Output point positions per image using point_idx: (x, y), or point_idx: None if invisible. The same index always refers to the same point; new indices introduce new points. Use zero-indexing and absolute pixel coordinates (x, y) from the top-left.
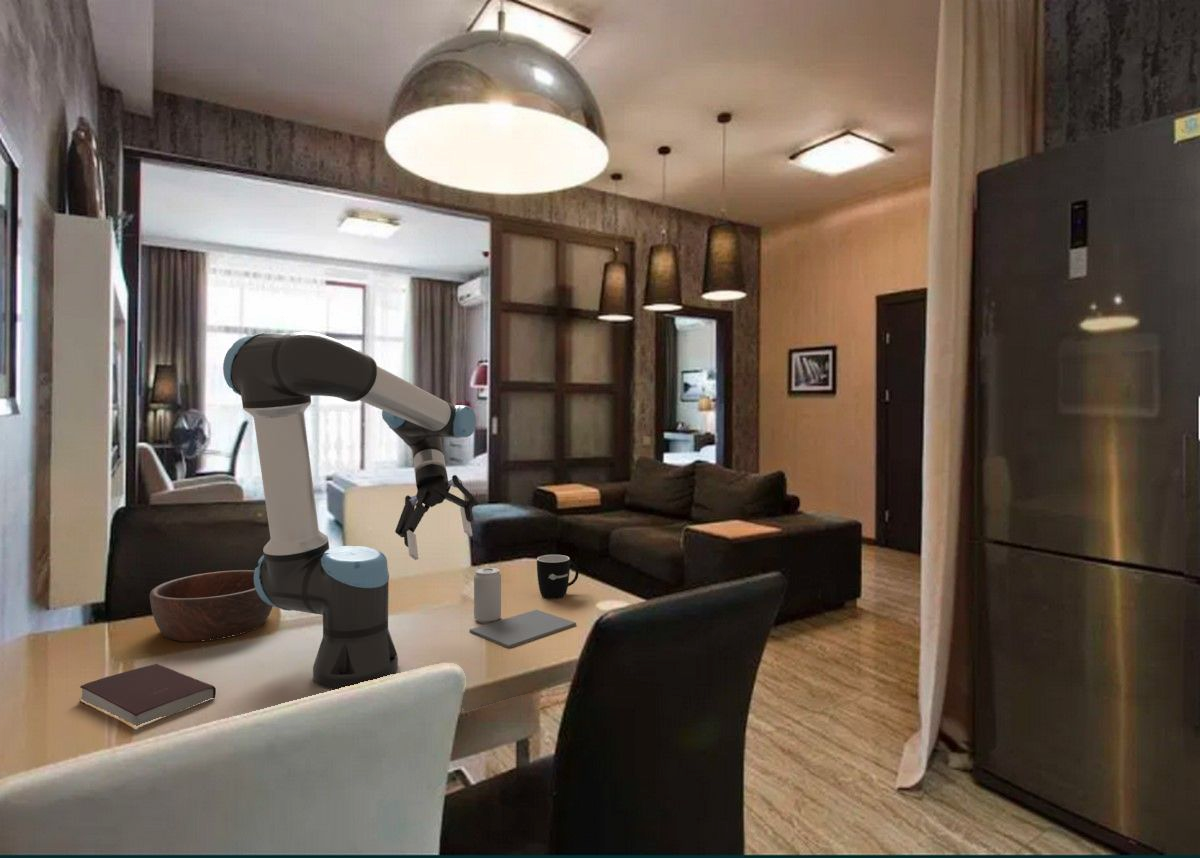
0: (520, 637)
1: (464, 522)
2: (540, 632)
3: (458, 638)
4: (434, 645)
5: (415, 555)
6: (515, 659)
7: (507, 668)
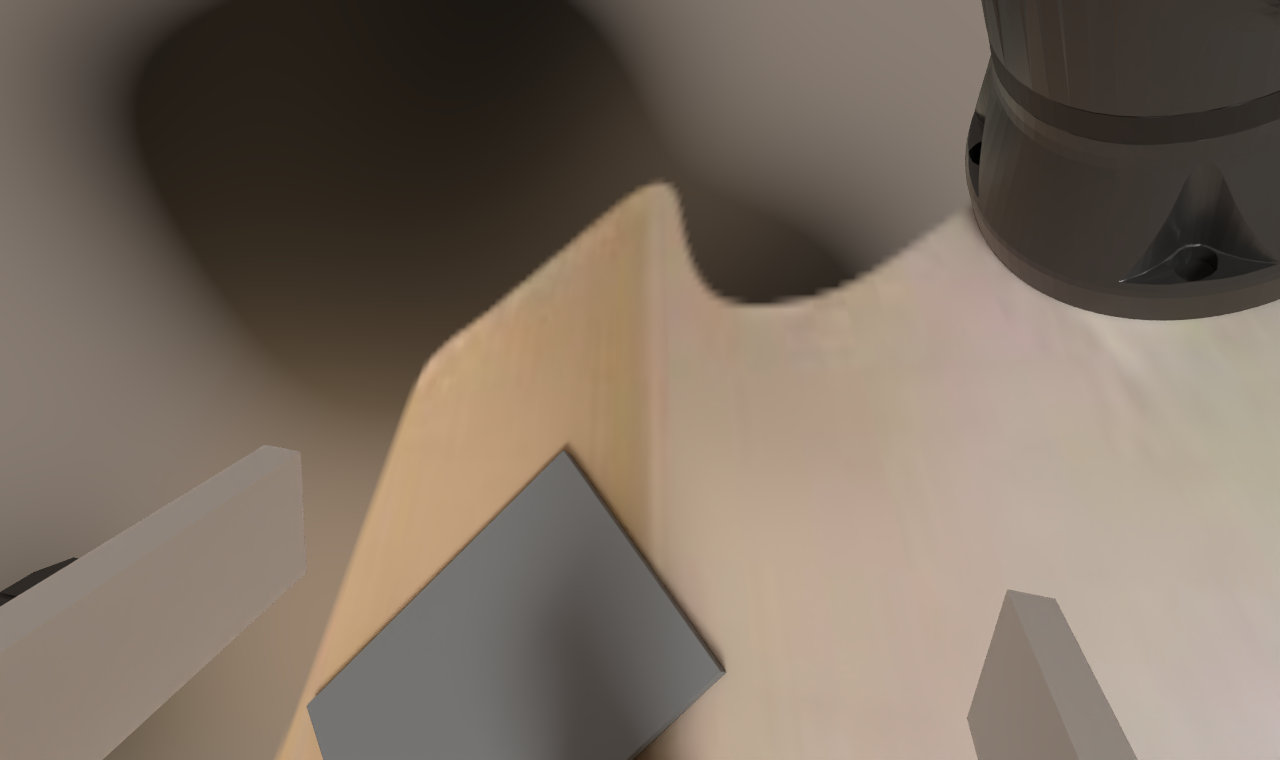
0: (515, 536)
1: (192, 503)
2: (441, 592)
3: (772, 581)
4: (876, 488)
5: (988, 671)
6: (557, 354)
7: (585, 283)
